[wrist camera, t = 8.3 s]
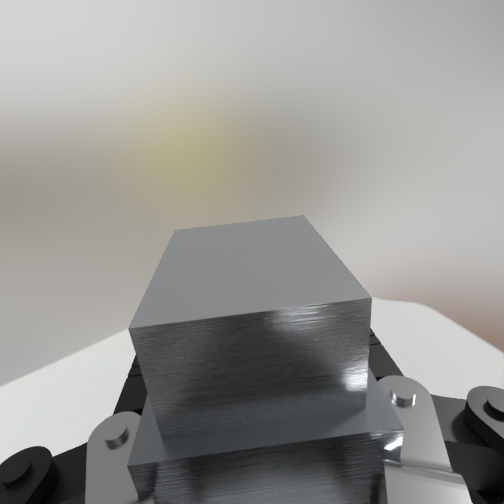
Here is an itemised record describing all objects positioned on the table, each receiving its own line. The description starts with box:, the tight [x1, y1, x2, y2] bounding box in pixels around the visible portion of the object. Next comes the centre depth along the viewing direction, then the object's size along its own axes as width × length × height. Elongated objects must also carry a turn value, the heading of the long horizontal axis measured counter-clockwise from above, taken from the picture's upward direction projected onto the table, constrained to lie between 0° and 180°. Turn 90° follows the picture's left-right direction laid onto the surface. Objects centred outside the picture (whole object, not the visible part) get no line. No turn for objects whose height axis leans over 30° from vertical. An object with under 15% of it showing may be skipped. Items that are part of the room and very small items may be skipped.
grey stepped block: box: [127, 215, 404, 504], centre depth 10 cm, size 5×6×11 cm
